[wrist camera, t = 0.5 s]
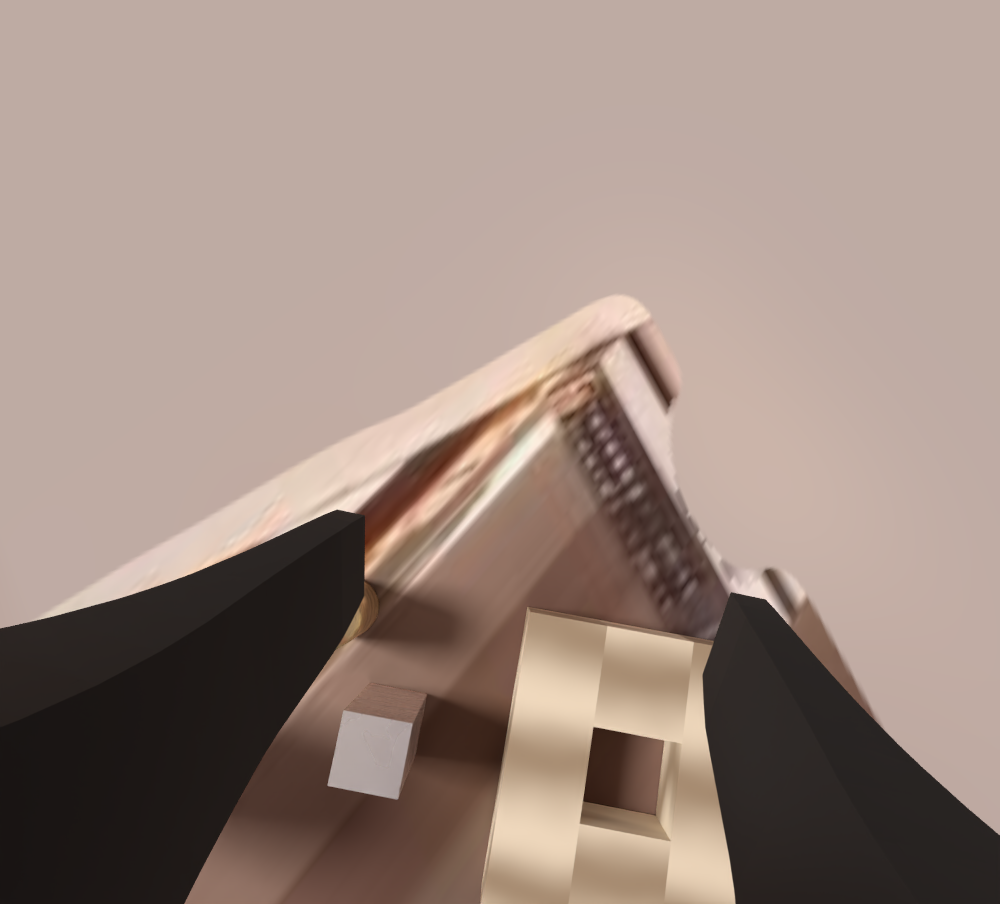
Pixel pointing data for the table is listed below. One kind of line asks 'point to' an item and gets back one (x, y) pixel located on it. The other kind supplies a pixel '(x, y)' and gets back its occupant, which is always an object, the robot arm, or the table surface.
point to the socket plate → (564, 761)
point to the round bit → (363, 615)
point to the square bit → (378, 741)
